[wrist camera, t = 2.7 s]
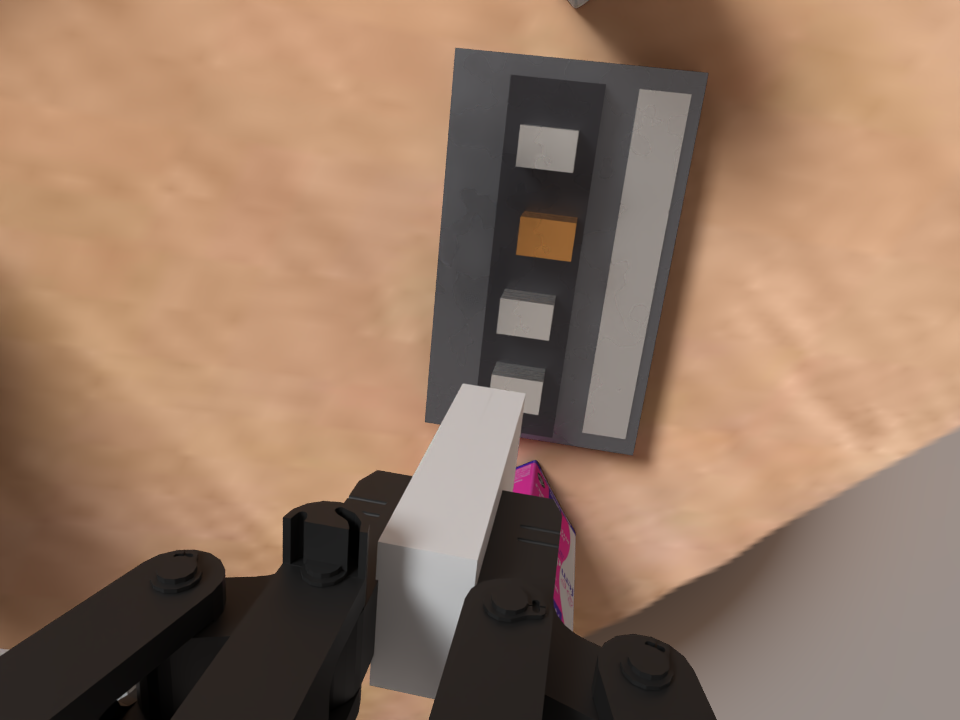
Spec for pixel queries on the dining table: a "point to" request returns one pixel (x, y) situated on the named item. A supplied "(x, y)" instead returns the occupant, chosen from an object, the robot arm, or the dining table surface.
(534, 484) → the supplement box
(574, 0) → the skincare box
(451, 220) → the breaker panel
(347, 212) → the dining table surface
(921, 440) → the dining table surface
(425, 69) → the dining table surface
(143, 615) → the robot arm
